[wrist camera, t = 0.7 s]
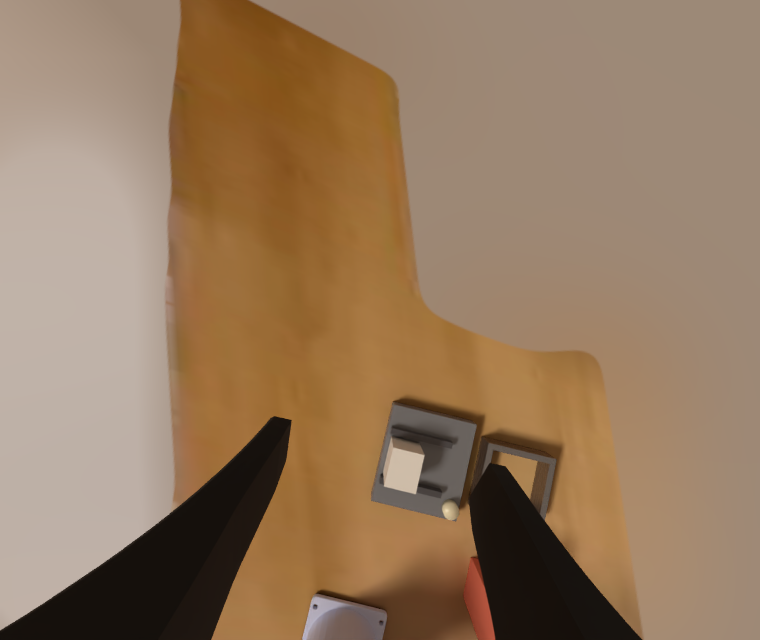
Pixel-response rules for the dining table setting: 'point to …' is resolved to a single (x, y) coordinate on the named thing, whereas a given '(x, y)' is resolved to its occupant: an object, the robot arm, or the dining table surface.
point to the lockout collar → (544, 459)
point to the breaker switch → (403, 465)
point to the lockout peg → (478, 602)
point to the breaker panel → (429, 460)
